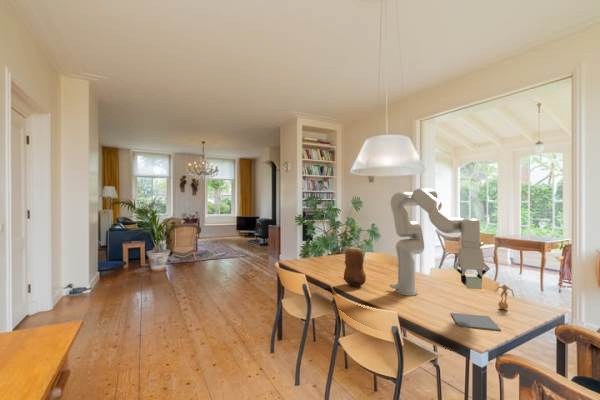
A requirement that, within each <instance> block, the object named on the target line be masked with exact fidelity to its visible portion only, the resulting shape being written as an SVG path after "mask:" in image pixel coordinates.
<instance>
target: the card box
mask: <svg viewBox="0 0 600 400" xmlns="http://www.w3.org/2000/svg"><path fill="white" fill-rule="evenodd" d="M465 276H466V284H463V283H462V282H461V283H462V285H464V286H465V287H466V288H467V289H469V290H482V289H483V288H482V287H483V286H482V285H483V278H482V279H480V278H479V277H478V276H477V274H474V273H465Z"/></svg>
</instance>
